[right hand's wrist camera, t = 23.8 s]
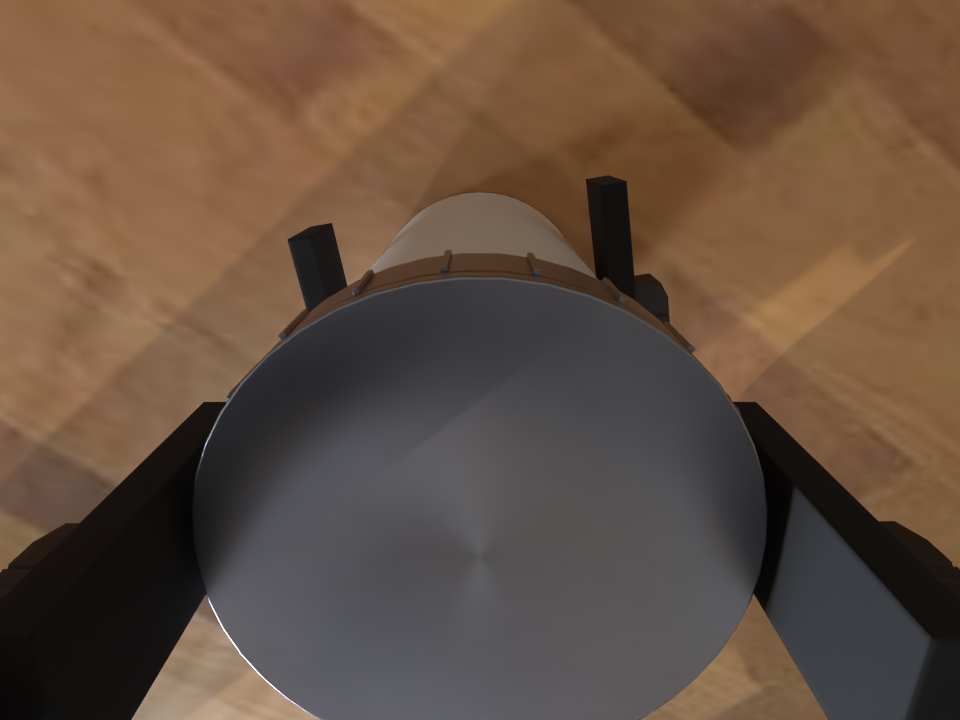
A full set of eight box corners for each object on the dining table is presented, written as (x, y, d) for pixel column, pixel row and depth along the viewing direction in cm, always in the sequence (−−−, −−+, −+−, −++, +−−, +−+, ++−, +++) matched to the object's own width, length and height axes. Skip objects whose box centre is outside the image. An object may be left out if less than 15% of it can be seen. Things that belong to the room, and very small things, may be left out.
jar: (376, 375, 29) (244, 685, 13) (386, 181, 26) (228, 262, 10) (562, 393, 29) (665, 718, 13) (593, 204, 26) (779, 318, 10)
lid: (169, 585, 13) (118, 659, 11) (345, 144, 10) (315, 147, 8) (571, 735, 14) (584, 821, 13) (831, 391, 11) (898, 440, 10)
